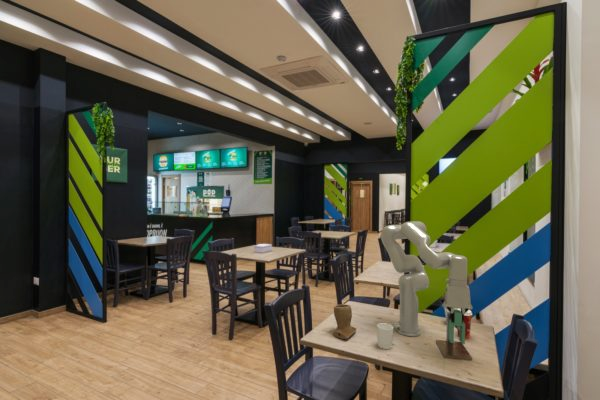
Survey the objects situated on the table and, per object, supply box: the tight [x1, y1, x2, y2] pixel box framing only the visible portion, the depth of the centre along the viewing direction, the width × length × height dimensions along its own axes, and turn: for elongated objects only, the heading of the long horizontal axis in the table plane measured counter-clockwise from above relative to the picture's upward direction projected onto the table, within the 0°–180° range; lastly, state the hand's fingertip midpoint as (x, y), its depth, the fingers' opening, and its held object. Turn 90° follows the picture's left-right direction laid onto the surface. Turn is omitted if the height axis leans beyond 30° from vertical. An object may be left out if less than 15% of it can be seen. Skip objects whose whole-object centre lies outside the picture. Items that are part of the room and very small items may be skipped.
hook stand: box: [435, 312, 473, 361], centre depth 155 cm, size 12×17×16 cm
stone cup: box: [332, 303, 357, 340], centre depth 173 cm, size 15×12×15 cm
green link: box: [449, 310, 466, 345], centre depth 151 cm, size 6×4×14 cm, turn 80°
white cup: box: [376, 322, 394, 350], centre depth 160 cm, size 8×8×10 cm
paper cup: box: [456, 308, 473, 340], centre depth 172 cm, size 8×8×14 cm
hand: (456, 321), depth 151 cm, fingers closed on green link, 3 cm apart
